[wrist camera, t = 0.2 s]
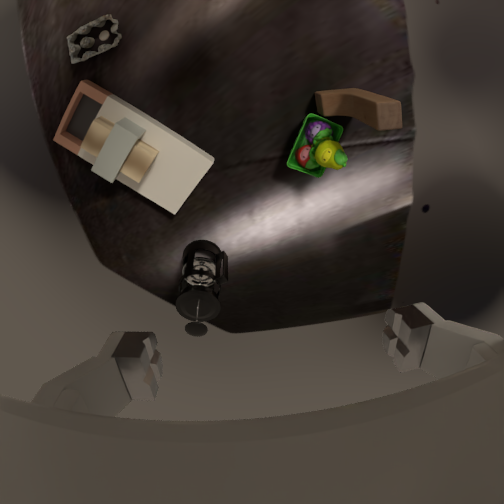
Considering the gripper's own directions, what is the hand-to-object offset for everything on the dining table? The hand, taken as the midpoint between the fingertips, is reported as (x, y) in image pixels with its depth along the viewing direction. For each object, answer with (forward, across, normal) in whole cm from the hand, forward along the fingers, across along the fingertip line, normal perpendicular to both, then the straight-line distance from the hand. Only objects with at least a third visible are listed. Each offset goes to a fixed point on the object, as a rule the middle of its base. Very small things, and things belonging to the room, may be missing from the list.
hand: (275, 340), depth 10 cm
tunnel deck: (+51, +21, -12) cm, 56 cm away
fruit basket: (+52, -15, -10) cm, 55 cm away
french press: (+60, +10, +15) cm, 63 cm away
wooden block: (+49, -20, -18) cm, 56 cm away
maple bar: (+48, +22, -12) cm, 54 cm away
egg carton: (+44, +26, -35) cm, 61 cm away
